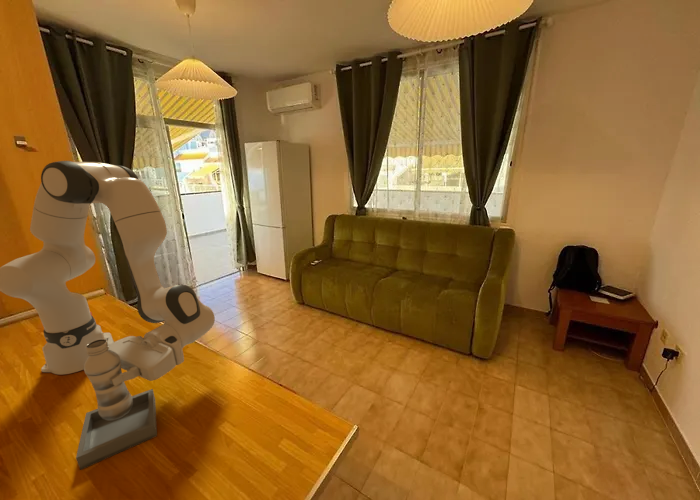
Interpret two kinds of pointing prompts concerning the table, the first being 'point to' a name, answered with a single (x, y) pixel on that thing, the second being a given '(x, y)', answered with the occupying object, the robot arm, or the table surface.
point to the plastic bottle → (107, 380)
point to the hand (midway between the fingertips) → (101, 377)
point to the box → (117, 431)
